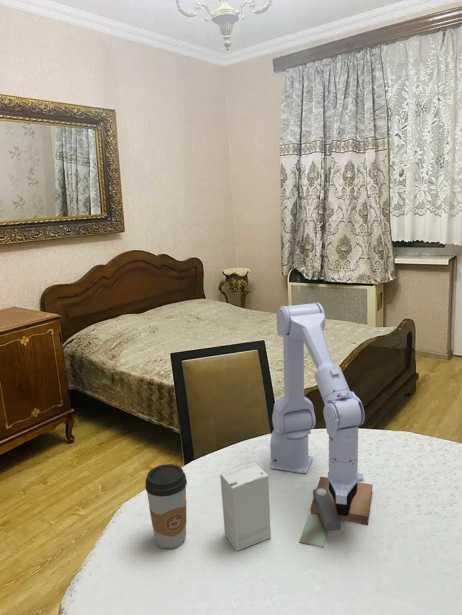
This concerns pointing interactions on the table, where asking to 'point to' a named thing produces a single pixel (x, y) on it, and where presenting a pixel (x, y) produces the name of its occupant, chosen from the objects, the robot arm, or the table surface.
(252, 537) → the skincare box
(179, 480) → the coffee cup
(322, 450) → the table surface
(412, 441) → the table surface
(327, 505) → the gray rectangular bar
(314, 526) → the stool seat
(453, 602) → the table surface
